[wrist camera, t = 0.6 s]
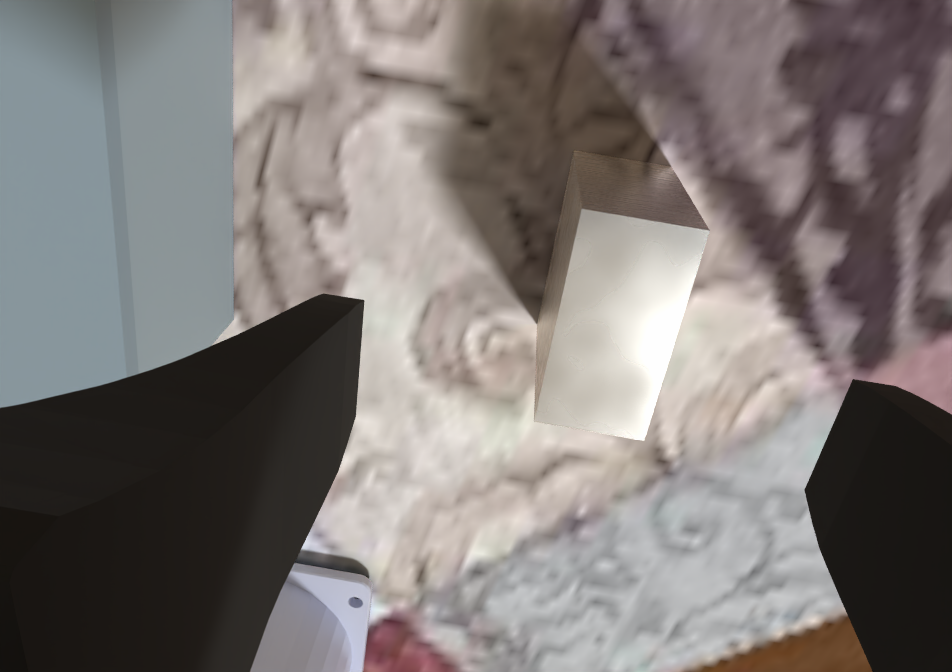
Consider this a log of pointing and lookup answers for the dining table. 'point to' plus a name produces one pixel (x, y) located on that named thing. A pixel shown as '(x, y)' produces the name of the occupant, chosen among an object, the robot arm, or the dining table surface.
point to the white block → (614, 294)
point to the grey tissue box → (112, 189)
